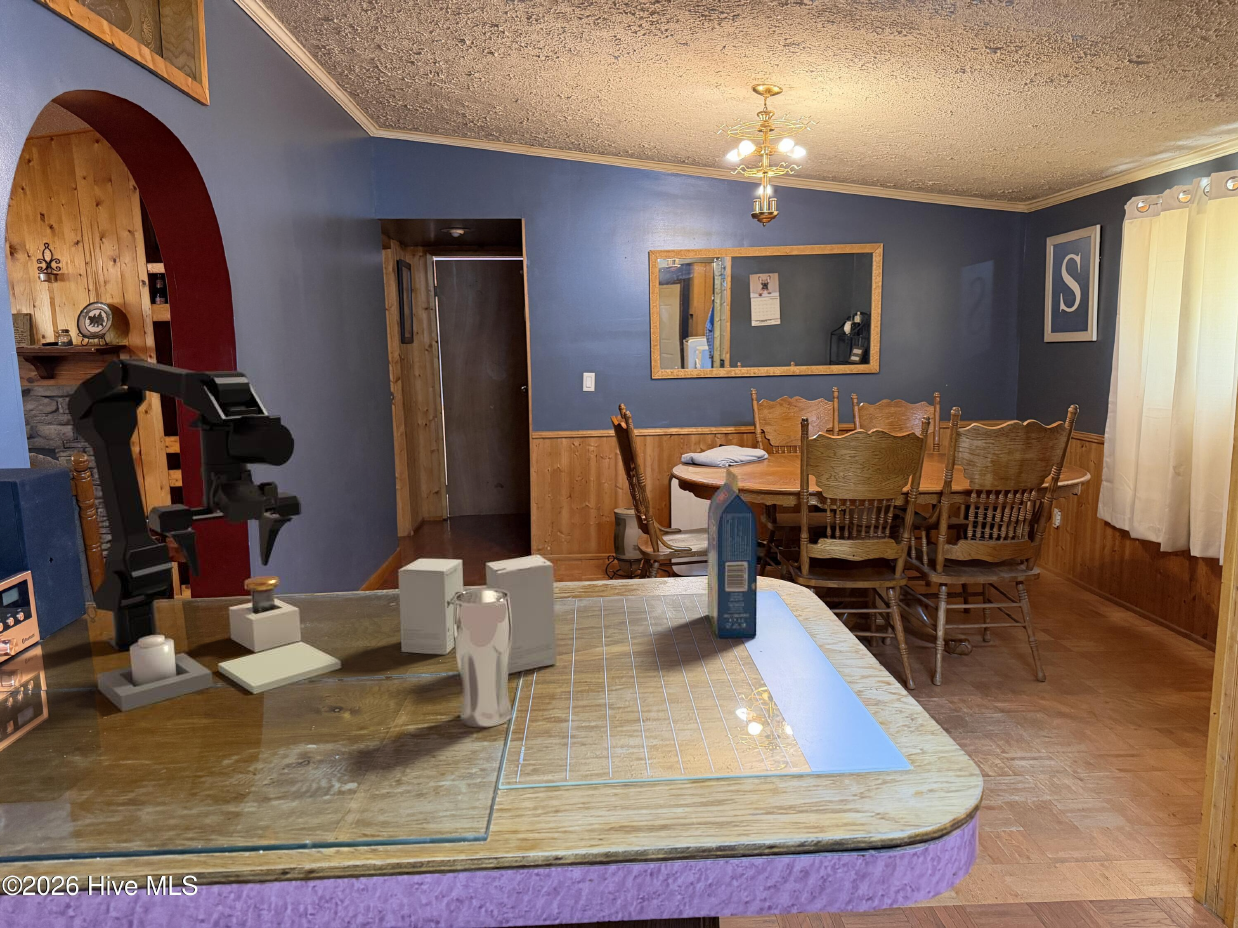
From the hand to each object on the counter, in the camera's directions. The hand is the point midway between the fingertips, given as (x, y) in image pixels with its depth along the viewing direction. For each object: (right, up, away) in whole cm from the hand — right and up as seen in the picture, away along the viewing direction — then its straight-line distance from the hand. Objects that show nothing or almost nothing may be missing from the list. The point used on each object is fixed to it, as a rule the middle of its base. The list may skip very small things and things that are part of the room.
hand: (231, 571), depth 115 cm
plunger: (0, -8, +11) cm, 13 cm away
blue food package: (+73, -11, +15) cm, 75 cm away
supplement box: (+27, -12, +8) cm, 31 cm away
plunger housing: (0, -12, +11) cm, 16 cm away
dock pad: (+7, -14, -1) cm, 15 cm away
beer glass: (+39, -15, -17) cm, 45 cm away
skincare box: (+41, -13, -1) cm, 43 cm away
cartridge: (-7, -15, -7) cm, 18 cm away
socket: (-7, -15, -7) cm, 18 cm away
